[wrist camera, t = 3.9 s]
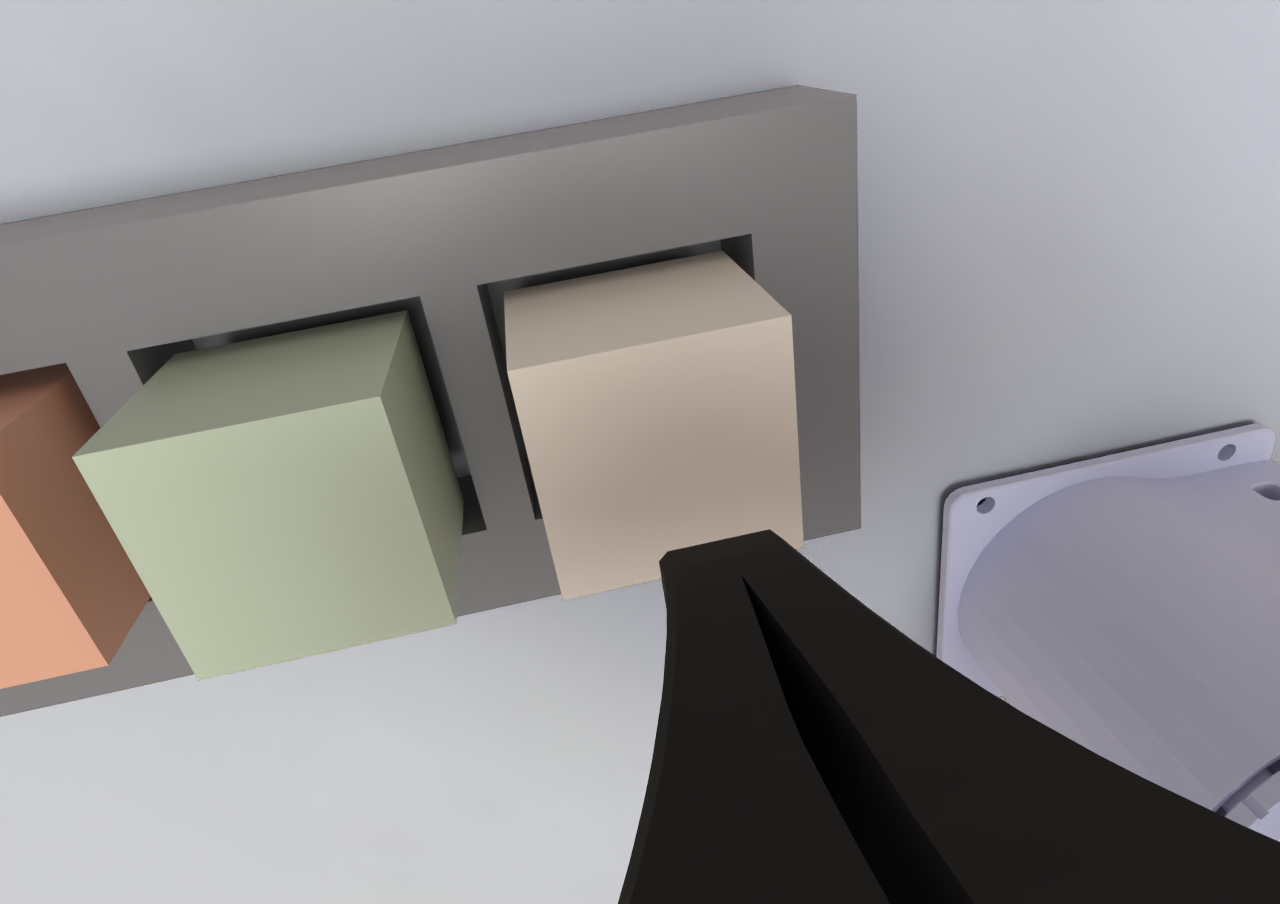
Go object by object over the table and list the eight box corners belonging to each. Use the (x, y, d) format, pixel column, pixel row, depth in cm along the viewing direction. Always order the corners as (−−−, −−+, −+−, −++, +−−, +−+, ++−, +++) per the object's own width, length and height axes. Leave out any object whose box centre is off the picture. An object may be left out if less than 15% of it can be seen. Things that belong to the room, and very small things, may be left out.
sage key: (407, 309, 15) (380, 395, 11) (464, 500, 17) (456, 623, 13) (175, 353, 14) (71, 457, 11) (261, 542, 16) (198, 680, 13)
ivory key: (722, 250, 15) (792, 314, 12) (740, 442, 17) (803, 547, 14) (503, 291, 15) (506, 371, 11) (548, 482, 17) (563, 600, 13)
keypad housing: (797, 85, 16) (856, 94, 13) (813, 464, 20) (861, 528, 18) (-305, 277, 15) (-480, 330, 12) (-34, 644, 19) (-119, 742, 16)
